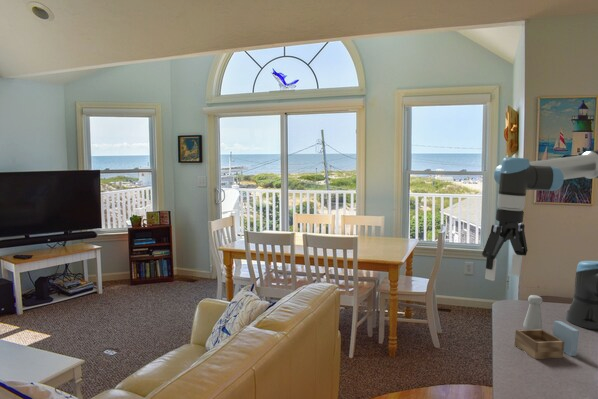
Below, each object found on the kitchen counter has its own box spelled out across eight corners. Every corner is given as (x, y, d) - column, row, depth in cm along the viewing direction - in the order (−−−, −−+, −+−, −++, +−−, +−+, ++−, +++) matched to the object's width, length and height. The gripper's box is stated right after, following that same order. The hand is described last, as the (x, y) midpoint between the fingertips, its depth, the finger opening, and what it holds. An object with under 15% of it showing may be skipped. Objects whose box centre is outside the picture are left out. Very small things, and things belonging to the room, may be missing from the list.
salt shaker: (543, 337, 153) (547, 299, 151) (525, 335, 154) (529, 297, 152) (538, 330, 158) (542, 294, 157) (520, 328, 159) (524, 292, 158)
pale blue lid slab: (557, 344, 147) (559, 320, 146) (576, 355, 139) (579, 330, 138) (551, 344, 147) (554, 320, 146) (570, 356, 139) (573, 330, 138)
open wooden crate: (540, 344, 147) (542, 329, 146) (562, 357, 137) (564, 341, 137) (514, 345, 145) (515, 330, 145) (534, 358, 136) (536, 342, 135)
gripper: (521, 206, 148) (514, 270, 150) (474, 207, 134) (467, 278, 136) (544, 209, 142) (536, 276, 144) (497, 211, 128) (489, 285, 130)
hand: (502, 277), depth 140 cm, fingers open, 13 cm apart
